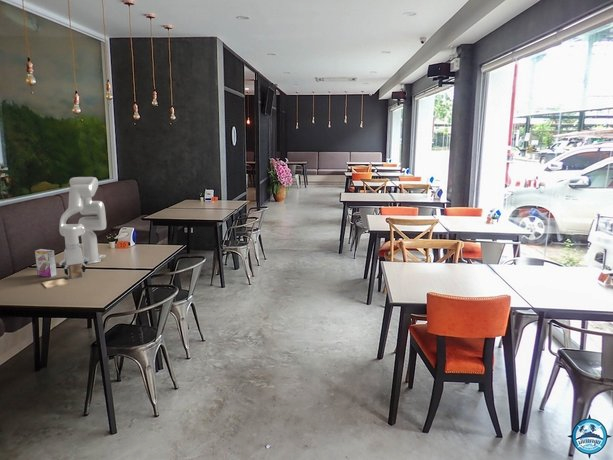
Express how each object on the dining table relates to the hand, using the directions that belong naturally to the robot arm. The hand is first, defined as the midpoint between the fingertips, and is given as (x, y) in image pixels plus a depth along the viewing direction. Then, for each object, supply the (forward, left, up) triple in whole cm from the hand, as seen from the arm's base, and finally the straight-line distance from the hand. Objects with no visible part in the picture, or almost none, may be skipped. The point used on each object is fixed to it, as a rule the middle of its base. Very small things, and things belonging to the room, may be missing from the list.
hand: (75, 273), depth 295 cm
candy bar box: (+13, -15, -3) cm, 20 cm away
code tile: (0, 0, -2) cm, 2 cm away
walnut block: (0, 0, -2) cm, 2 cm away
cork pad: (+13, +7, -2) cm, 15 cm away
